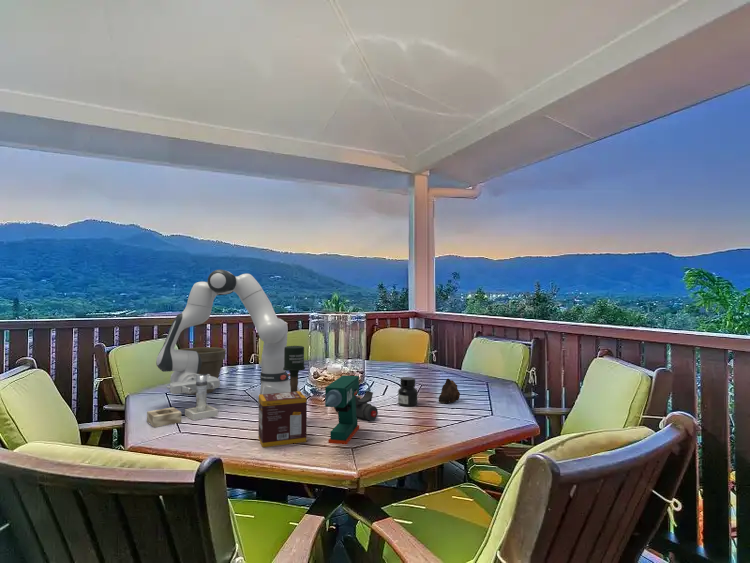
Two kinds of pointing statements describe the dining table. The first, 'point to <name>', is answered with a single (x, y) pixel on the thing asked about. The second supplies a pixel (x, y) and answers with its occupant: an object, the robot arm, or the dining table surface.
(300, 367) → the stick grenade
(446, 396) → the decorative rock
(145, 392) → the dining table surface
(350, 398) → the power tool
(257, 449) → the dining table surface
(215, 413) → the tray
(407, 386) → the ink bottle
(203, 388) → the collared metal peg
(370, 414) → the laser sight
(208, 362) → the plant pot
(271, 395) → the supplement box
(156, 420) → the socket block
